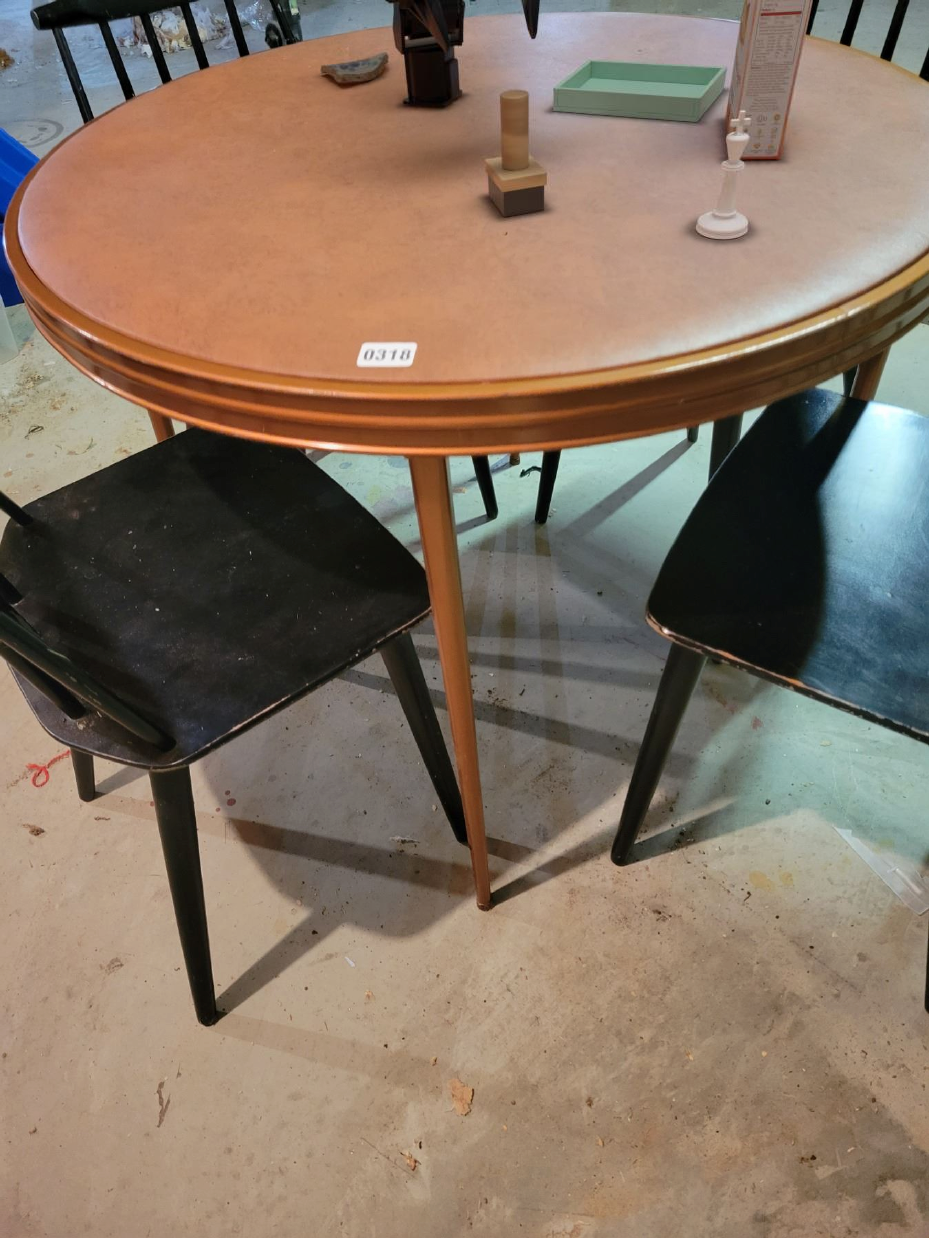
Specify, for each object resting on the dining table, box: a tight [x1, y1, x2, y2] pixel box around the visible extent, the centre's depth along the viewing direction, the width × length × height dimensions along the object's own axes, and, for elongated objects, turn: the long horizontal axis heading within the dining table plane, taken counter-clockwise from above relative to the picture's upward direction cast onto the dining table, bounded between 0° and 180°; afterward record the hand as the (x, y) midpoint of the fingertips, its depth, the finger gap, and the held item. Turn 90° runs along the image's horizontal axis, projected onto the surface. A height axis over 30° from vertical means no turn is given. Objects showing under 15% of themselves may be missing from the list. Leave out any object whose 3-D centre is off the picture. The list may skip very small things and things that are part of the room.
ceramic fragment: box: [319, 52, 390, 84], centre depth 118 cm, size 11×3×10 cm
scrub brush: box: [484, 89, 548, 218], centre depth 79 cm, size 6×5×10 cm
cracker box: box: [725, 0, 813, 161], centre depth 83 cm, size 14×6×21 cm, turn 169°
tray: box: [552, 59, 728, 123], centre depth 102 cm, size 19×13×3 cm
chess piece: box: [695, 110, 751, 240], centre depth 72 cm, size 5×5×10 cm
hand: (491, 43), depth 79 cm, fingers open, 9 cm apart
